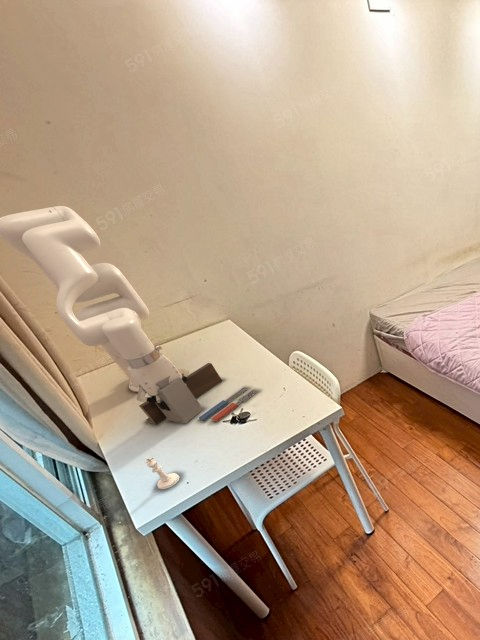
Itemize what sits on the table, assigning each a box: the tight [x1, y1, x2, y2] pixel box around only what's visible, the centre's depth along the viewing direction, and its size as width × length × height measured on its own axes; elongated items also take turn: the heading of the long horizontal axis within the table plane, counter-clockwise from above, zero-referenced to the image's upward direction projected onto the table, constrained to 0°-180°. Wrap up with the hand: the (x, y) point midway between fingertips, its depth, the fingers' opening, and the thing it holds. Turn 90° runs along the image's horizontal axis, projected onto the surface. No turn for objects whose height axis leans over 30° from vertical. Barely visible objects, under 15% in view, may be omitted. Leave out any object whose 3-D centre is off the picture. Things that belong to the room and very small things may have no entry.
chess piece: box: [144, 456, 180, 490], centre depth 103 cm, size 5×5×10 cm
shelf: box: [138, 362, 223, 426], centre depth 131 cm, size 5×24×8 cm, turn 159°
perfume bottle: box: [147, 376, 204, 424], centre depth 122 cm, size 7×7×18 cm
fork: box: [210, 389, 259, 423], centre depth 130 cm, size 3×16×1 cm, turn 159°
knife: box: [198, 387, 249, 422], centre depth 131 cm, size 2×17×1 cm, turn 159°
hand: (177, 402), depth 124 cm, fingers closed on perfume bottle, 6 cm apart
